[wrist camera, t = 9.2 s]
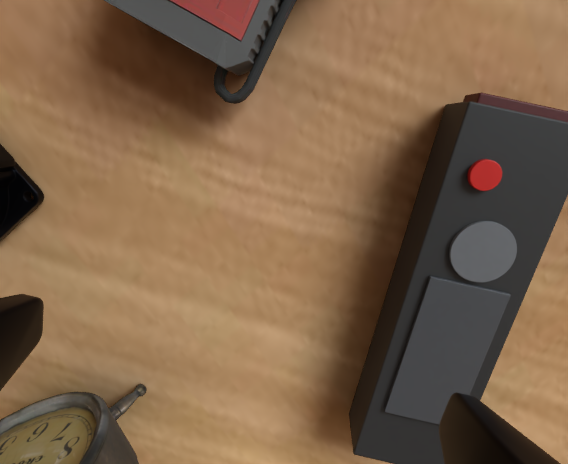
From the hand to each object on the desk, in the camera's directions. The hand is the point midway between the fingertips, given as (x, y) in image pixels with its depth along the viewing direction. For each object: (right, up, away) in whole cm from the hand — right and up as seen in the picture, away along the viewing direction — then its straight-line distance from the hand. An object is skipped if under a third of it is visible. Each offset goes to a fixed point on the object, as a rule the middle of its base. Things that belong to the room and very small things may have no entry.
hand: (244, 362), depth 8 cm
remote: (+9, 0, +11) cm, 14 cm away
